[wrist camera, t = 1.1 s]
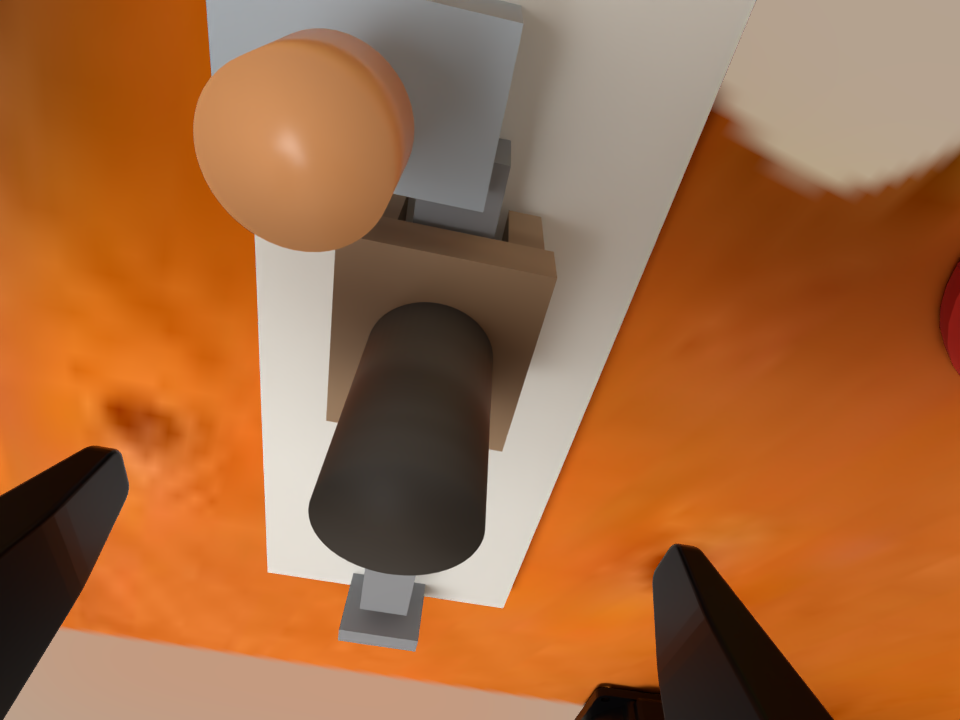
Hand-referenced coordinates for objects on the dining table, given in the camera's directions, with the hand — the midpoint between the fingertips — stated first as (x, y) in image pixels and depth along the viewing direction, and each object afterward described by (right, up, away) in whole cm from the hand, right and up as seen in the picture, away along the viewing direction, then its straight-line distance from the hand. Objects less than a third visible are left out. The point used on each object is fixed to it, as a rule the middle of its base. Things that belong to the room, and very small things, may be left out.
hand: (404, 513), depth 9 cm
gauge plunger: (-1, +6, -1) cm, 6 cm away
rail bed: (0, +2, +9) cm, 9 cm away
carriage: (0, +4, +6) cm, 7 cm away
